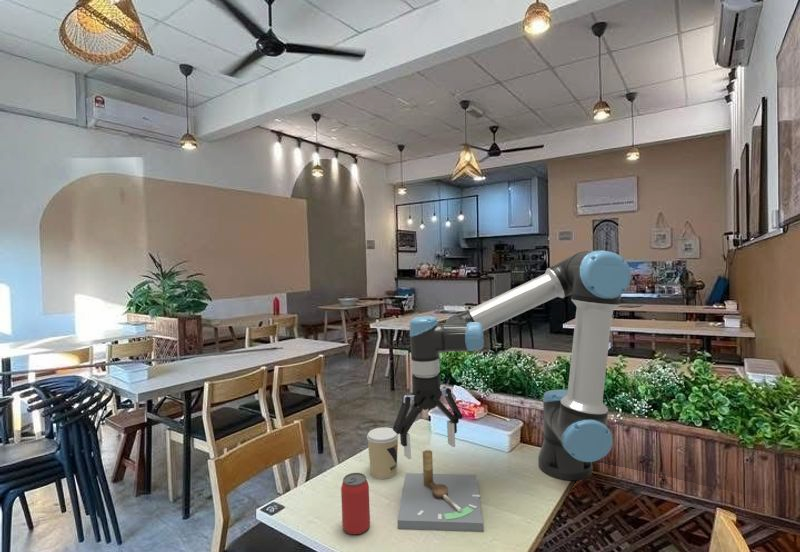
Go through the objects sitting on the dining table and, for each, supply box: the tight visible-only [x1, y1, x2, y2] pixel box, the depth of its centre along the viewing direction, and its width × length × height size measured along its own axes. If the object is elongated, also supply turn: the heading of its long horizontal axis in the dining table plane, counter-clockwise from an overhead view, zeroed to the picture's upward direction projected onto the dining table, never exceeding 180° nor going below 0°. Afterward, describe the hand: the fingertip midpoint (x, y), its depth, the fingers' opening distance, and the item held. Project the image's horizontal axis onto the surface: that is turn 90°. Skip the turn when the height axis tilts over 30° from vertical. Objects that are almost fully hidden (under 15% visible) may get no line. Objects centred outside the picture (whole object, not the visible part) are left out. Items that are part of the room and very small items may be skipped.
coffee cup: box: [366, 427, 399, 480], centre depth 127 cm, size 9×9×12 cm
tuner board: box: [397, 472, 484, 532], centre depth 110 cm, size 20×22×2 cm
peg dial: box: [422, 449, 461, 512], centre depth 109 cm, size 16×4×9 cm, turn 27°
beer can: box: [340, 472, 371, 535], centre depth 101 cm, size 7×7×12 cm
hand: (430, 451), depth 115 cm, fingers open, 13 cm apart
